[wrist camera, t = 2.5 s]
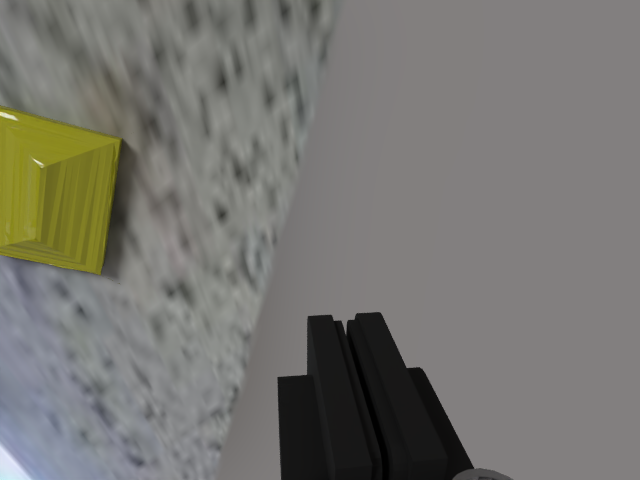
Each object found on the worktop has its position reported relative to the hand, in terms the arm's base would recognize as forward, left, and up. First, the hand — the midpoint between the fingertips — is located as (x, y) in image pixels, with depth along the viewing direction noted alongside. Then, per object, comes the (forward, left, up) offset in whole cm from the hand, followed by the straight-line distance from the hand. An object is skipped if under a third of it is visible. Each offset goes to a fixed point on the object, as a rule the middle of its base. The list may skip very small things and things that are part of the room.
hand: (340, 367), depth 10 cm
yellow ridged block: (0, -12, -15) cm, 19 cm away
